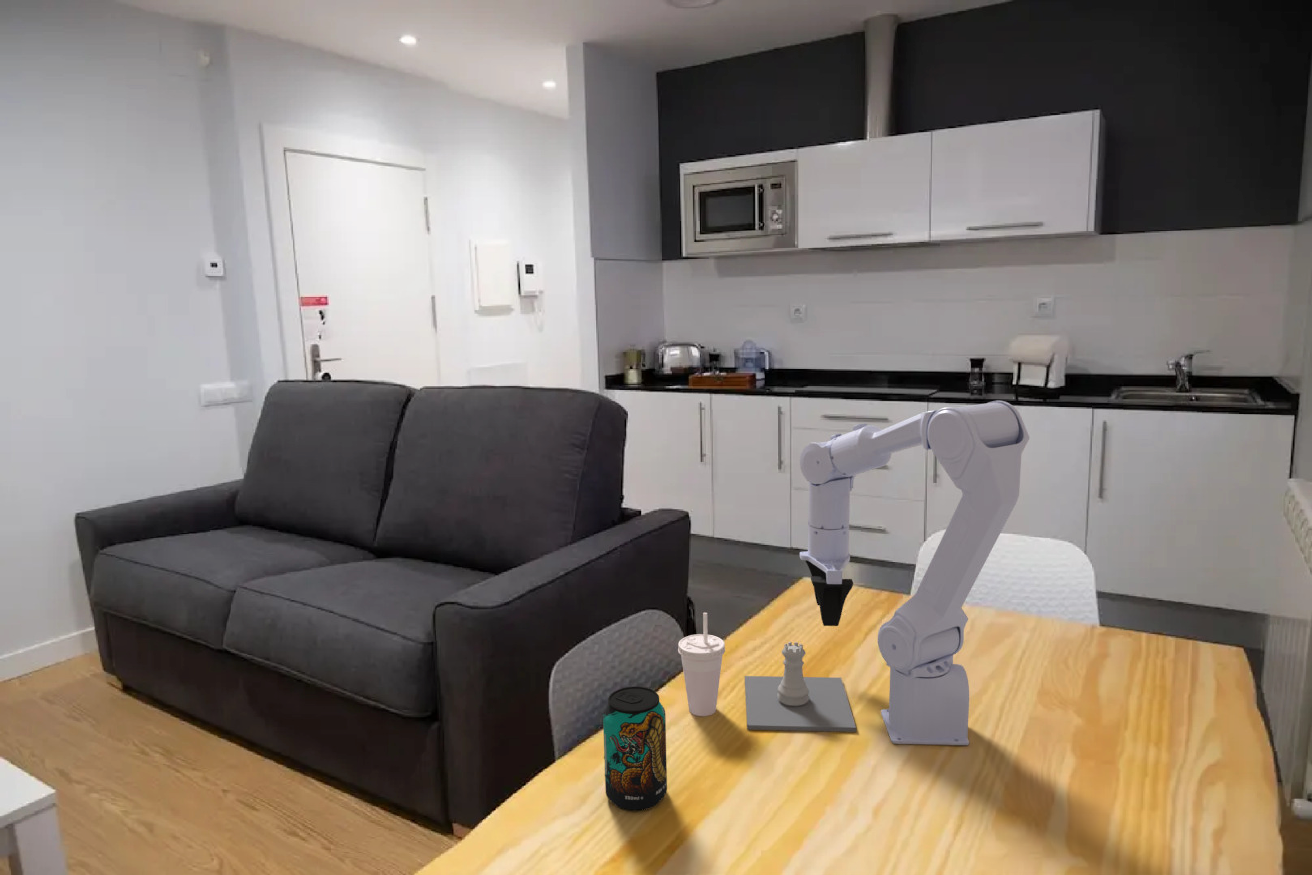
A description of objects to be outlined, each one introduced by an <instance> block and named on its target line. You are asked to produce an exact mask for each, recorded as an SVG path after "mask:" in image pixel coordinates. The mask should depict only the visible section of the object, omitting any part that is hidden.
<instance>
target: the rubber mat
mask: <svg viewBox="0 0 1312 875" xmlns="http://www.w3.org/2000/svg"><path fill="white" fill-rule="evenodd" d="M803 679H804V682H806V686H807V687H808V690H809V694H808V695H809V698H810V699H809V700H808V702H807V703H806V704H805V705H803V706H799V707H791V706H786V705H784V704H782V703H781V702H780V701H779V699H778V698H777V694H778V686H779V685H780V684H781V681H782V680H783V676H772V675H771V676H768V675H767V676H765V675H763V676H761V675H759V676H758V675H744V690H745V691H744V692H745V710H746V711H745V714H746V729H747V730H752V731H753V730H756V731H757V730H759V731H798V732H799V731H802V732H806V731H808V732H841V733H842V732H844V733H845V732H848V733H850V732H851V733H853V732H854V733H856V732H857V727H856V723H855V720H854V717H853V713H852V710H851V706H850V703H849V699H848V696H847V693H846V688H845V687H844V682H843V680H842V677H834V676H833V677H832V676H831V677H824V676H821V677H820V676H817V677H816V676H813V677H812V676H803Z"/></svg>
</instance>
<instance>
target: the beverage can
mask: <svg viewBox="0 0 1312 875" xmlns="http://www.w3.org/2000/svg"><path fill="white" fill-rule="evenodd" d="M607 701H608V702H607V704H606V706H605V708H604V710H603V713H602V722H603V724H602V725H603V727H602V728H603V750H604V751H603V752H604V753H603V754H604V758H603V759H604V780H605V781H604V782H605V787H604V788H605V794H606V798H607V799H608V800H609V801H610V802H611V803H613V805H615V806H616V808H619V809H621V810H625V811H630V812H639V811H640V812H641V811H646V810H649V809H651V808H653V807H655V806H657V805H658V804H659V803H660V802H661V801H662V800H663V799H664V798H665V796H666V794H667V790H668V775H667V774H668V773H667V772H668V770H667V731H666V730H667V729H666V728H667V727H666V724H667V723H666V718H667V717H666V710H665V707H664V706H663V705H662V703H661V702H660V695H659V694H658V692H656V691H655V690H653V689H651V688H648V687H645V686H627V687H622V688H618V689H616V690H614V691H613V692H611V694H610V695H609V697H608V699H607Z"/></svg>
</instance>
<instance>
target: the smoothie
mask: <svg viewBox="0 0 1312 875" xmlns="http://www.w3.org/2000/svg"><path fill="white" fill-rule="evenodd" d="M702 614H703V615H702V617H703V618H702V622H703V623H702V624H703V625H702V627H703V630H702V631H703V634H702V633H698V634H690V635H688V636H685V637H683V638H681V639H680V640H679V641H678V648H677V649H678V650H677V651H678V654H679V655H680V656H681V666H682V670H683V678H684V684H685V692H686V697H687V698H686V699H687V705H688V711H689V713H691V715H693V716H697V717H708V716H711V715H713V714H714V713H715V712H716V711H717V704H718V696H719V689H720V688H719V686H720V678H721V672H722V671H721V670H722V665H723V664H722V662H723V655H724V653H725V652H726V644H725V641H724V640H723V639H722V638H720V637H718V636H716V635H712V634H708V612H703V613H702Z"/></svg>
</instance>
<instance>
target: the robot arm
mask: <svg viewBox="0 0 1312 875" xmlns="http://www.w3.org/2000/svg"><path fill="white" fill-rule="evenodd" d="M852 429H853V430H852V431H849V432H847V433H844V434H842V433H835V434H833V435H831V436H830V440H827V441H821V442H815V441H814V442H810V443H809V444H807V445H806V446H805V447H803V449H802V451H801V453H800V457H799V458H800V459H799V465H800V470H801V473H802V475H803V477H804V479H806V481H807V482H808V509H807V510H808V513H807V514H808V516H807V517H808V519H807V520H808V521H807V522H808V526H807V530H808V531H807V532H808V533H807V535H808V536H807V551H800V552H799V558H800V560H801V561H805V563H806V565H807V567H808V569H809V572H810V574H811V575H810V580H811V585H812V586H813V590H814V596H815V597H814V598H815V601H816V604H817V606H819V610H820V612H819V613H820V617H821V621H822V624H823V627H839V624H840V622H841V618H842V614H843V609H844V605H845V602H846V599H847V598H848V595H849V594H850V592H851V590H852V589H853V586H854V581H853V579H852V578H843V571H844V569H845V568H846V567H847V565H848V563H850V560H851V553H850V552H849V550H850V549H849V548H850V502H851V501H850V499H851V498H850V494H851V491H852V490H853V489H854V480H855V478H856V476H857V475H860V474H863V473H866V472H869V471H873V470H875V469H878V468H883V467H884V466H886V465H887V464H888V463H889V462H890V459H891V458H892V454H893V453H898V452H900V451H904V450H908V449H911V448H915V447H918V446H919V447H920V446H921V445H922V447H923V449H924V450H928V451H929V450H931V451H932V453H933V455H934V456H935V458H936V459H937V460H938V463H939V464H940V465H941V466H942V468H943V470H944V471H945V473H946V474H947V475H948V477H949V478H950V480H951V482H952V483H953V485H954V486H955V487H956V488H957V489H959V490H961V492H962V494H961V495H962V496H961V498H960V500H959V502H958V503H957V506H956V509H954V512H953V515H952V517H951V519H950V521H949V523H948V525H947V527H946V528H945V531H944V533H943V535H942V538H941V539H940V541H939V544H938V546H937V549H936V550H935V552H934V554H933V557H932V558H931V561H930V563H929V564H928V567H927V569H926V572H925V573H924V575H923V578H922V580H920V581H921V582H920V584H919V586H918V587H917V590H916V592H915V594H914V595H912V597H911V598H909V599H908V600H907V601H906V602H904V603H903V604H902V605H901V606H899V607H898V608H897V609H896V610H895V612H894V614H893V615H892V617H891V618H890V619H889V620H888V621H885V622H884V623H883V624H881V626H880V627H879V630H878V634H877V644H878V645H877V646H878V649H879V652H880V653H879V654H881V656H882V658H883V660H884V661H885V663H886V666H888V667H889V668H890V670H889V693H888V694H889V696H888V697H889V698H888V699H889V703H888V709H887V708H883V709H881V710H880V714H881V717H882V719H883V723H884V726H885V728H886V730H887V734H888V736H889V739H890V742H891V743H893V744H895V745H896V744H898V745H901V744H903V745H910V744H911V745H937V746H938V745H939V746H940V745H943V746H945V745H946V746H968V745H970V741H969V739H968V732H969V713H970V712H969V711H970V710H969V709H970V684H969V680H968V675H967V674H968V673H967V670H966V669H965V667H964V666H963V665H962V664H958V663H954V655H956V654H958V653H959V652H960V651H961V649H962V648H963V646H964V645H963V644H964V639H965V638H964V636H965V634H964V633H965V627H966V624H967V622H969V617H968V615H967V614H966V613H965V611H964V609H963V608H962V607H963V605H964V603H965V602H966V600H967V598H968V596H969V595H970V592H971V591H972V588H973V586H974V584H975V582H976V581H977V579H978V577H979V575H980V573H981V571H982V569H983V568H984V565H985V563H986V562H987V560H988V557H989V556H990V554H991V552H992V550H993V548H994V546H995V544H996V542H997V540H998V539H999V537H1000V534H1001V533H1002V531H1003V529H1004V527H1005V525H1006V523H1007V521H1008V519H1009V517H1010V516H1011V513H1012V512H1013V510H1014V508H1015V506H1016V504H1017V502H1018V499H1019V496H1020V485H1021V467H1022V454H1023V452H1024V450H1025V448H1026V446H1027V444H1028V442H1029V440H1030V434H1029V433H1028V430H1027V428H1026V426H1025V422H1024V421H1023V417H1022V416H1021V413H1020V412H1019V411H1018V409H1017V408H1016V407H1015V406H1013V405H1012V404H1011V403H1009V402H1007V401H1004V400H993V401H989V402H987V403H980V404H972V405H966V406H965V405H964V406H959V407H958V406H956V407H955V406H947V407H946V406H945V407H942V408H940V409H937V410H930V411H923V412H920V413H919V414H916V415H914V416H912V417H909V418H907V419H904V420H902V421H899V422H897V423H895V424H893V425H891V426H888V427H886V428H884V429H883V428H881V427H879V426H878V425H873V424H869V425H868V423H867V422H862V423H858V424H857V423H856V424H855V425H853V426H852Z"/></svg>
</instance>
